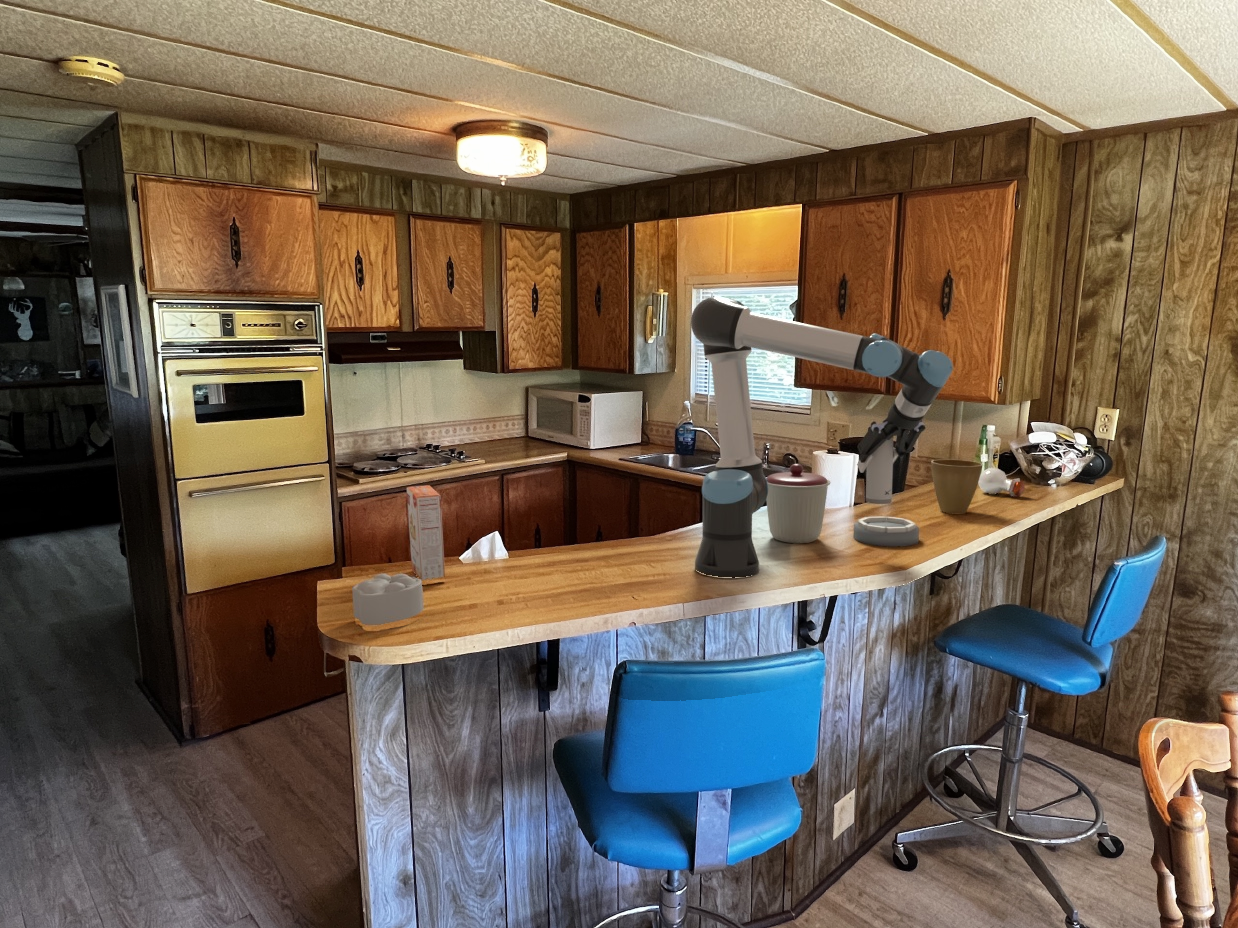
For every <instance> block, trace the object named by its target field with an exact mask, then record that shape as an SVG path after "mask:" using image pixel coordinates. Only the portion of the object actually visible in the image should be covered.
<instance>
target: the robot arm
mask: <svg viewBox="0 0 1238 928" xmlns="http://www.w3.org/2000/svg"><path fill="white" fill-rule="evenodd" d="M690 327H691V331H692V333H693V335H694V337H695V339H697V340H698V341H699V342H700V343H702V345H703V354H704V358H706V359H707V360H708V361H709V362H710V365H711V371H712V372H711V374H712V381H713V391H714V401H715V402H714V403H715V412H716V413H715V414H716V424H717V433H718V442H719V443H718V445H719V453H720V454H719V455H720V459H719V460H718V461H717V462H716V464H715V470H713V471H711V472H709V473H707V474H706V475H705V476H704V477H703V479H702V486H701V495H702V499H701V501H702V502H701V503H702V538H701V542H700V543H699V544H700V545H699V547H698V551H697V554H696V557H695V559H694V560H695V561H694V570H695V569H696V570H697V571H699V572H701V573H704V574H706V575H712V576H718V577H732V578H735V577H745V578H747V577H746V576H750V577H752V576H751V575H753V576H755V575H757V574H758V573H759V572H760V569H759V568H760V561H759V557H758V554H757V552H756V549H755V546H754V542H753V514H754V513H756V512H758V511H759V510H761V508H762V507H763V506H764V504H765V503H766V502H767V501H766V499H767V495H768V482H767V479H766V478H767V477H766V476H765V474H764V471H763V460H762V459H760V457H759V456H757V455H756V451H755V450H756V449H755V441H754V440H755V439H754V438H755V437H754V430H753V429H754V428H753V418H752V408H751V399H750V387H749V377H748V376H749V375H748V365H747V358H748V356H749V355H750V354H751V353H752V348H753V349H757V350H762V351H766V352H770V353H775V354H779V355H783V356H784V355H785V356H789V357H794V358H798V359H803V360H805V361H806V360H807V361H811V362H815V363H821V364H826V365H831V366H834V367H838V368H843V369H848V370H853V371H856V372H860V373H864V374H869V375H871V376H874V377H876V378H877V377H878V378H888V379H892V380H893V381H895V382H897V383H899V384H901V385H902V387H901V389H900V390H899V393H898V394H897V396H896V398H895V400H894V401H893V403H892V405H891V406H890V407H889V409H888V413H887V417H886V418H885V419H884V420H883V421H882V422H879V423H877V422H876V421H872V422H871V423H870V426H869V427H870V429H869V430H868V429H867V431H866V433H865V434H864V436H863V437H862V439H861V440H860V442H859V443H858V445H857V449H858V452H859V456H858V462H856V463H857V464H856V466H857V468H858V470H859V472H860V474H861V473H864V472H865V471H866V470H867V465H868V463H869V462H870V460H871V459H872V457H873V456H872V453H873V452H874V451H876V450H877V449H878V448H879V447H880V446H881V445H882V444H883V443H884V442H885V441H886V440H890V439H891V438H892V437H895V436H896V437H895V438H896V439H895V443H894V444H895V445H894V446H893V464H894V463H895V462H896V461H898V459H899V458H903V457H905V453H907V454H908V453H911V452H912V450H913V448H914V446H915V444H916V442H917V440H918V439H919V437H920V435H921V434H922V433H923V432H924V430H925V429H926V426H925V423H924V422H923V418H924V417H925V415H926V413H927V412H928V411H929V409H930V407H931V406H932V404H933V402H934V401H935V400H936V398H937V397H938V395H939V394H940V392H941V390H942V389H943V388H944V386H945V385H946V383H947V382H948V380H949V378H950V376H951V374H952V372H953V369H954V365H953V362H952V360H951V359H950V357H949V356H948V355H946V354H945V353H944V352H941V351H937V350H933V349H929V350H926V351H924V352H922V353H921V354H919V353H918V352H914V351H912V350H910V349H908V348H907V347H905V346H903V345H901V344H899V343H897V342H896V341H893V340H891V339H889V337H886V336H882V335H881V334H878V333H872V334H871V335H870V336H863V335H861V334H855V333H850V332H847V331H846V332H845V331H841V330H837V329H831V328H826V327H822V326H817V325H813V324H809V323H808V324H807V323H802V322H799V321H793V320H788V319H784V318H783V319H782V318H778V317H775V316H771V315H765V314H761V313H754V312H752V311H751V309H750V307H748V306H746V305H744V304H743V303H742V302H741V301H739V300H736V299H734V298H726V297H721V296H710V297H708V298H705V299H703V300H701V301H700V302H699V303H698V304H697V305H696V306H695V308H694V309H693V311H692V313H691V316H690ZM696 570H695V571H696Z"/></svg>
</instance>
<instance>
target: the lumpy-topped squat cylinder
mask: <svg viewBox="0 0 1238 928" xmlns="http://www.w3.org/2000/svg"><path fill="white" fill-rule="evenodd" d="M423 590H424V588H423V586H422V580H421V579H418V578H417V577H416V576H410V575H408V574H405V573H397V574H394V575H390V574H389V575H388V574H387V573H379V574H376V575H375V576H374V577H373V578H371V579H370V578H369V579H364V580H363V581H361V582H360V583H357V584H355V585H353V586H352V589H351V591H352V605H353V606H352V607H353V618H354V617H355V618H357V619H359V620H360V621H361V623H362V624H365V625H381V624H385V623H390V622H395V621H399V620H403V619H408V618H411V617H413V616H415V615H417V614H419V613H420V612H422V610H423V609H424V607H425V606H424V592H423ZM424 610H425V609H424Z"/></svg>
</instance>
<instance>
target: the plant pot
mask: <svg viewBox="0 0 1238 928" xmlns="http://www.w3.org/2000/svg"><path fill="white" fill-rule="evenodd" d="M930 463H931V474H932V480H933V486H934V492H935V496H936V500H937V503H938V506H939V509H940V512H942V511H943V512H942V513H945V512H946V513H945V514H950V513H953V514H954V515H964V514H966V513H967V511H968V510H969V507H970V506H971V503H972V501H973V498H974V496H975V493H976V491H977V488H978V486H979V478H980V474H981V473H982V469H983V466H984V465H983V463H982V462H979V461H973V460H966V459H965V460H964V459H933V460H931V462H930ZM953 514H952V515H953Z"/></svg>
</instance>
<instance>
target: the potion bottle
mask: <svg viewBox="0 0 1238 928" xmlns="http://www.w3.org/2000/svg"><path fill="white" fill-rule="evenodd" d="M1025 482H1026V481H1025V480H1023V481H1021V479H1020V478H1019V477H1018V478H1014V479H1010V478H1007V475H1006V473H1005V471H1003V470H1001V469H999V468H998V467H988V468H986V469H985V470H983V471H981V474H980V478H979V482H978V486H979V488H980V491H982V492H984V493H985V492H986V494H987V493H994V494H993V495H995V493H998V494H1000V493H1002V491H1004V492H1007V493H1009V494H1010V496H1011V497H1012V496H1013V497H1015V496H1016V497H1017V498H1018V497H1019V498H1020V497H1021V496H1022V494H1023V493H1025Z"/></svg>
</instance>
